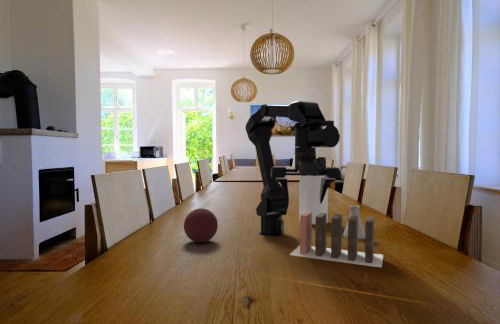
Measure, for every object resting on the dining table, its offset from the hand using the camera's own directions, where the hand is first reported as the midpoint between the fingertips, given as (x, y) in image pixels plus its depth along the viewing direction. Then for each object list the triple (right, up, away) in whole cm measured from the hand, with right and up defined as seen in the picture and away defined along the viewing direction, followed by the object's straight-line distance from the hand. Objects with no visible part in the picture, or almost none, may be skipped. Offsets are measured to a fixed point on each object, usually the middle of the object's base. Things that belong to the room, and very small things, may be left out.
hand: (304, 203), depth 92 cm
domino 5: (+14, -13, -11) cm, 22 cm away
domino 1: (0, -12, -4) cm, 13 cm away
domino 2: (+3, -12, -6) cm, 14 cm away
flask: (+17, -12, +11) cm, 24 cm away
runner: (+7, -13, -7) cm, 16 cm away
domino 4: (+11, -12, -9) cm, 19 cm away
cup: (+9, -12, +33) cm, 36 cm away
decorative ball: (-30, -13, +6) cm, 33 cm away
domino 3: (+7, -12, -7) cm, 16 cm away
